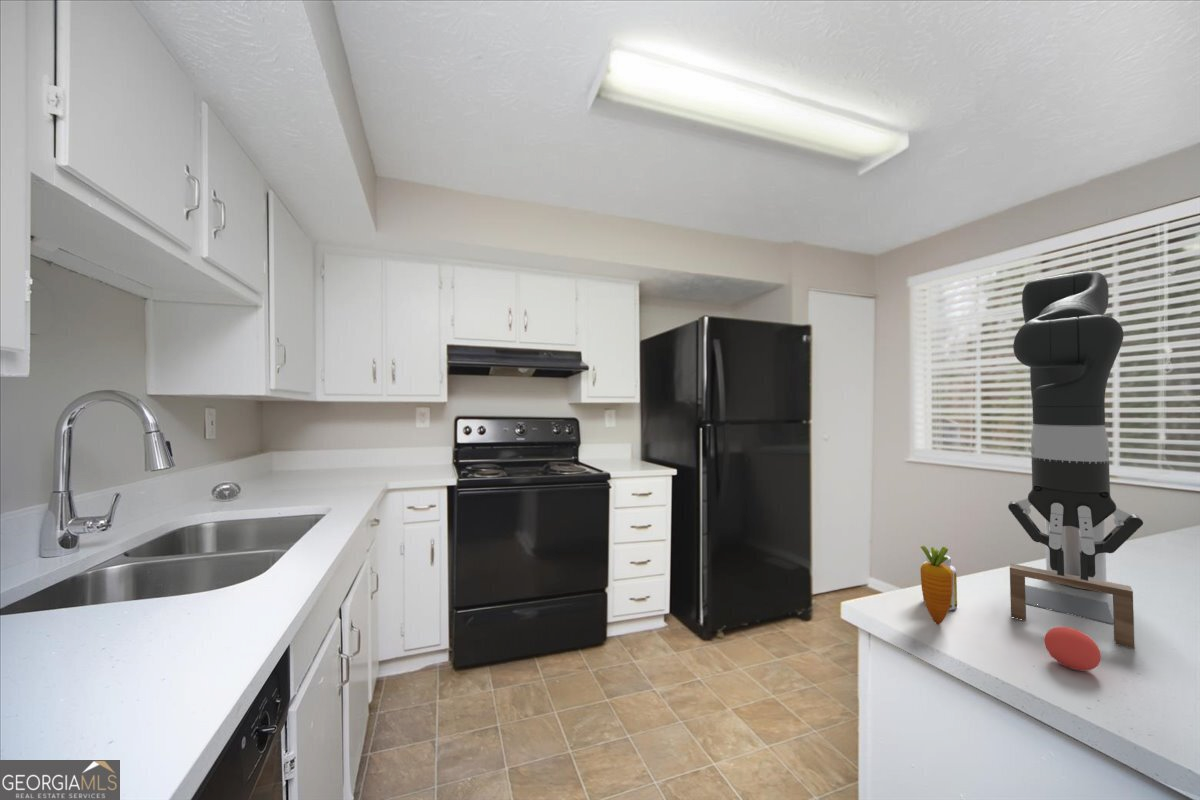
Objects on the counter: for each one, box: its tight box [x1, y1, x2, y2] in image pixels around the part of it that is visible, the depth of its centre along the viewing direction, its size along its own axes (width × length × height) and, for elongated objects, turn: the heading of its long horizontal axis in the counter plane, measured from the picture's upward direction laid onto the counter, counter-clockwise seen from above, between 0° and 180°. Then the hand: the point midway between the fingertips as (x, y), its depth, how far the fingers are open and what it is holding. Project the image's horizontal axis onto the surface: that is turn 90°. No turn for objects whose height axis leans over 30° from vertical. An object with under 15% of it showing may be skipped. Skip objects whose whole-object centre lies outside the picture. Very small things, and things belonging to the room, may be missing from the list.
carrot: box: [920, 545, 953, 625], centre depth 80 cm, size 5×5×15 cm
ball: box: [1043, 626, 1102, 672], centre depth 67 cm, size 6×6×6 cm
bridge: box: [1009, 563, 1135, 649], centre depth 78 cm, size 3×15×10 cm, turn 44°
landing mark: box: [1025, 584, 1114, 626], centre depth 87 cm, size 12×12×1 cm
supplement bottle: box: [921, 552, 958, 611], centre depth 88 cm, size 6×6×10 cm
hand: (1071, 575), depth 61 cm, fingers closed
